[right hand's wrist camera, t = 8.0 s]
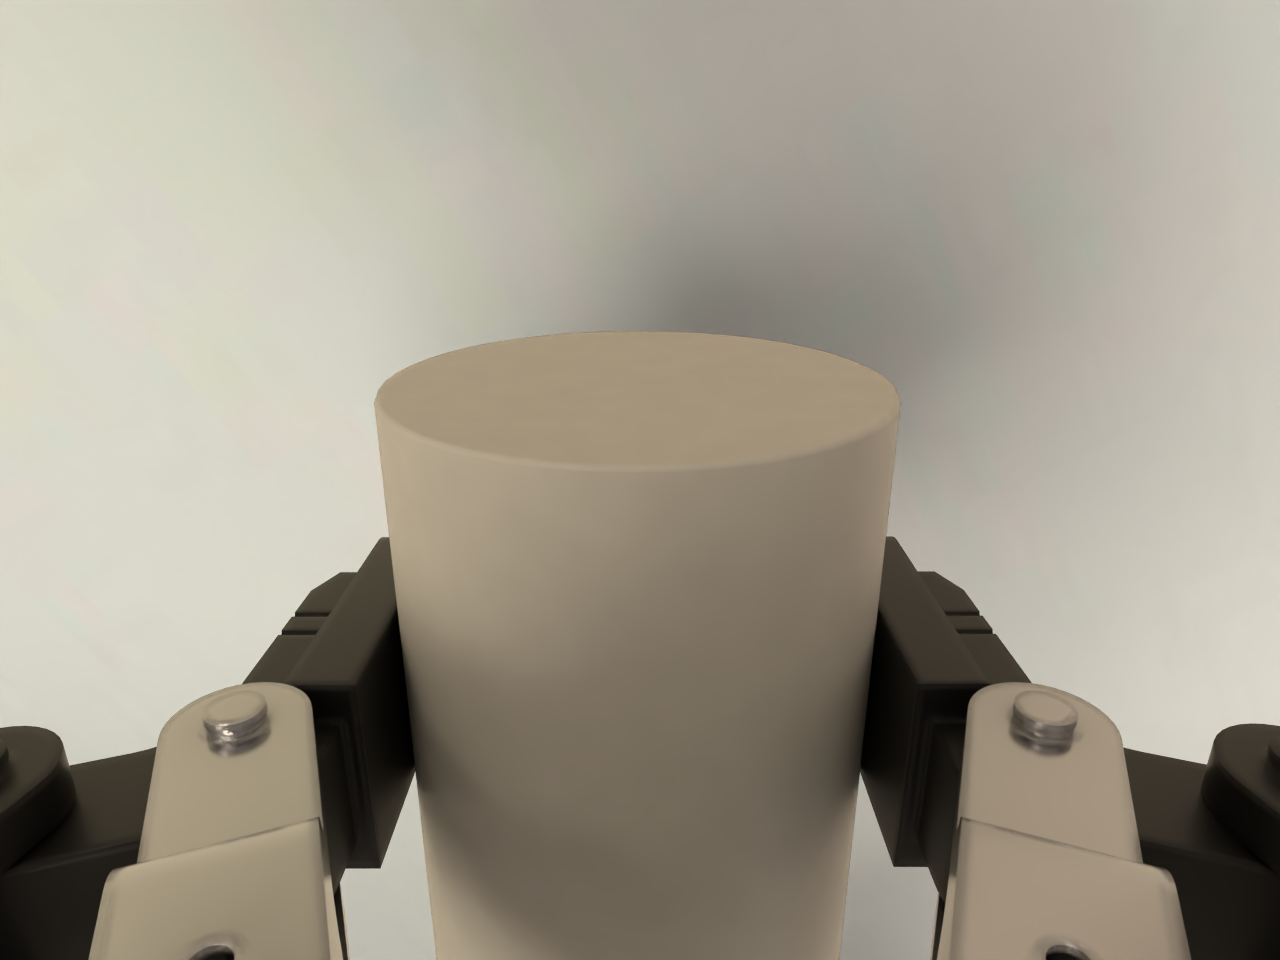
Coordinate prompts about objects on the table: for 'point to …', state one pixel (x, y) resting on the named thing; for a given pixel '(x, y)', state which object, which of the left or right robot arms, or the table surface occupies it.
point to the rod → (637, 638)
